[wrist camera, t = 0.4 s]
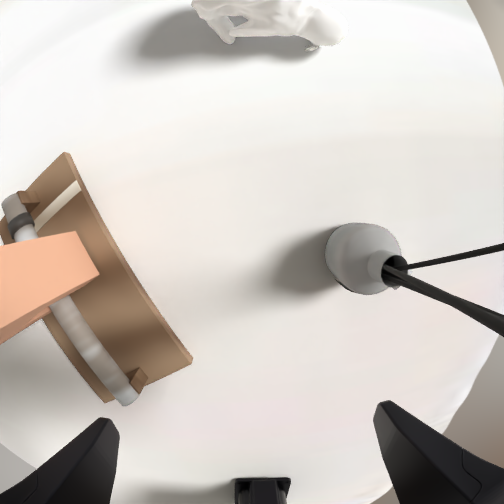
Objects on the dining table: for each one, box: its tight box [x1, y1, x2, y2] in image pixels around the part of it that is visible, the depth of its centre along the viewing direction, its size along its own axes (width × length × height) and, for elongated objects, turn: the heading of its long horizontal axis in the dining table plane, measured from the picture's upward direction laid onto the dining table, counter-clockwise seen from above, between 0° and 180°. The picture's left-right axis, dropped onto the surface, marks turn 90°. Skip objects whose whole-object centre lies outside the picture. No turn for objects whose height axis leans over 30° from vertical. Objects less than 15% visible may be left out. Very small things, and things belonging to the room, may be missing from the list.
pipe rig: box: [0, 152, 193, 406], centre depth 19 cm, size 20×11×5 cm, turn 31°
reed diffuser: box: [325, 223, 504, 337], centre depth 12 cm, size 10×7×20 cm
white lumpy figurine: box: [191, 0, 348, 51], centre depth 15 cm, size 6×8×12 cm
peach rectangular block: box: [0, 231, 100, 345], centre depth 14 cm, size 4×7×12 cm, turn 121°
